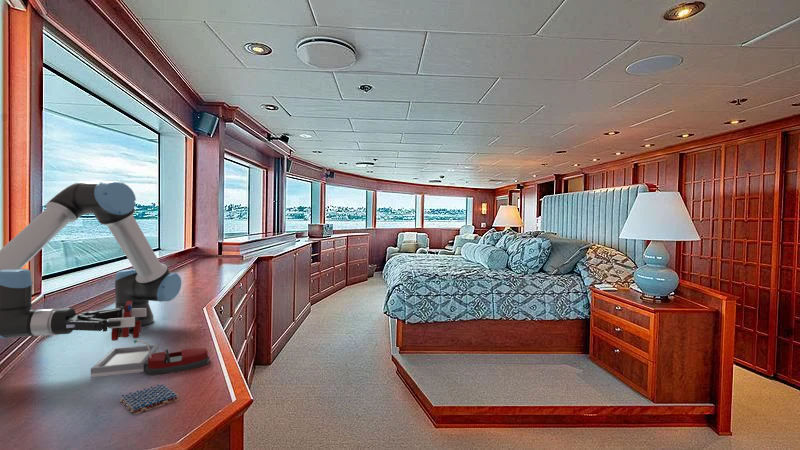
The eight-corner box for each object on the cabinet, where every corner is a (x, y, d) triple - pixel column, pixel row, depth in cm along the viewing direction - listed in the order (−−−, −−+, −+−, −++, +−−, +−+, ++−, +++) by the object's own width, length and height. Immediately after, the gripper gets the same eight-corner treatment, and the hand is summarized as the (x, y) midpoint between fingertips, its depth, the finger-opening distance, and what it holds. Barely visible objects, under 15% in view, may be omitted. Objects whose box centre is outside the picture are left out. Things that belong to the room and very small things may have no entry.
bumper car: (211, 366, 122) (211, 334, 122) (133, 380, 111) (133, 345, 111) (207, 356, 131) (207, 326, 130) (134, 369, 120) (134, 336, 119)
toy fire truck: (110, 344, 116) (110, 308, 116) (115, 333, 127) (115, 300, 126) (138, 340, 119) (138, 306, 119) (141, 330, 130) (141, 298, 130)
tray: (113, 355, 130) (113, 348, 130) (158, 351, 134) (158, 344, 134) (90, 377, 113) (90, 368, 113) (143, 371, 117) (143, 363, 117)
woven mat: (132, 418, 92) (132, 409, 92) (118, 403, 99) (118, 395, 99) (180, 402, 100) (180, 394, 100) (164, 389, 107) (164, 382, 107)
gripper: (73, 323, 128) (150, 319, 135) (33, 347, 106) (128, 340, 113) (73, 300, 128) (150, 297, 135) (33, 319, 105) (128, 313, 113)
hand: (140, 316), depth 124 cm, fingers closed on toy fire truck, 12 cm apart
